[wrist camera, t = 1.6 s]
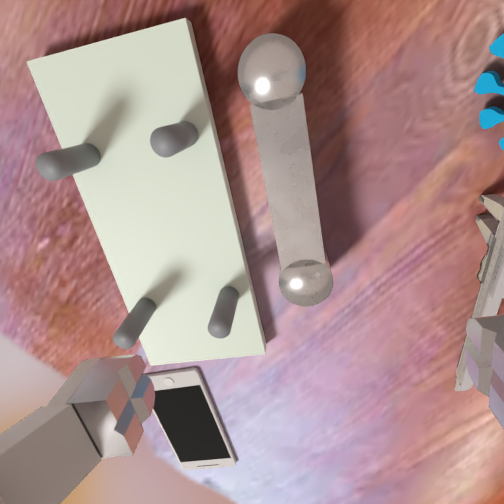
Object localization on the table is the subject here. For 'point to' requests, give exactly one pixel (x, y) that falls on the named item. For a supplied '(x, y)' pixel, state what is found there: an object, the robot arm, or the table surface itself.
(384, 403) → the table surface
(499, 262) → the caliper
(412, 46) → the table surface
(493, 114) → the gear
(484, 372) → the robot arm
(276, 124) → the grey dumbbell
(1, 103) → the table surface
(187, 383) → the smartphone
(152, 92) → the board
